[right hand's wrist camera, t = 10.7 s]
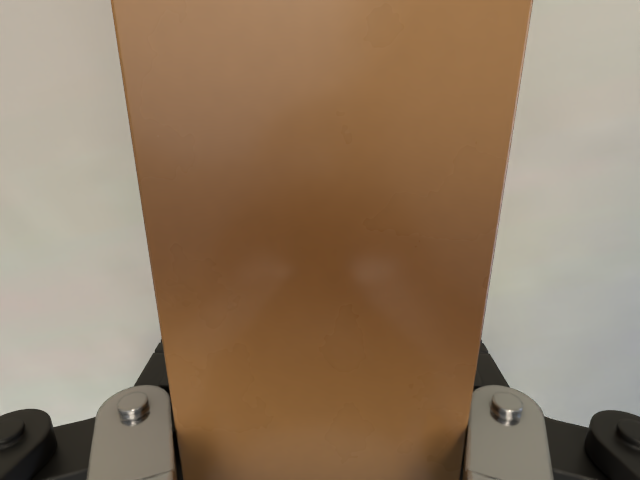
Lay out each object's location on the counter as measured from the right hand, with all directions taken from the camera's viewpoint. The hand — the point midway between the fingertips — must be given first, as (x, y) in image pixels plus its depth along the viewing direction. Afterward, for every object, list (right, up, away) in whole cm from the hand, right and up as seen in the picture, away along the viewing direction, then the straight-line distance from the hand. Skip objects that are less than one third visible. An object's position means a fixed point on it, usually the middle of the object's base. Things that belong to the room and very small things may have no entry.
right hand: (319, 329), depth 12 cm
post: (0, +27, -7) cm, 28 cm away
